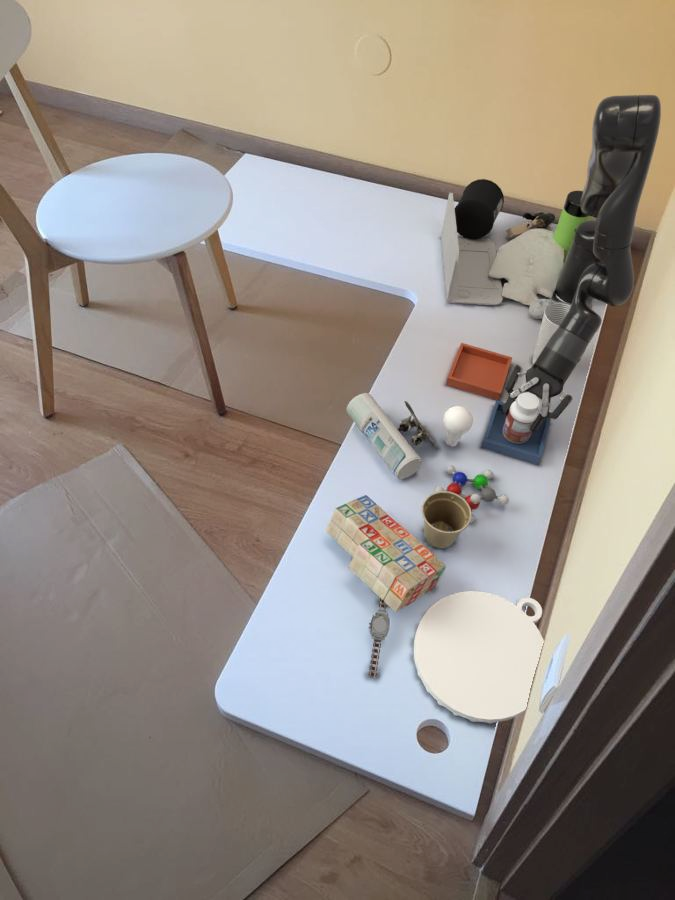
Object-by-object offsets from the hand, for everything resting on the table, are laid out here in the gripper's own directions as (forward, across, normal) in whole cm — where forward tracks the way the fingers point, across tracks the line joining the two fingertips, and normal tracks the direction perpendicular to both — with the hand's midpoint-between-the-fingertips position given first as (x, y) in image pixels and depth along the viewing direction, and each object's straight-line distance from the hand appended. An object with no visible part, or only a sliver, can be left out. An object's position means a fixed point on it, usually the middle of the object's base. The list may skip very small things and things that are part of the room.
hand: (518, 422), depth 158 cm
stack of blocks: (+29, -2, -25) cm, 39 cm away
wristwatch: (+44, +7, -36) cm, 57 cm away
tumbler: (-43, -25, +51) cm, 72 cm away
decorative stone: (-24, -13, +33) cm, 43 cm away
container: (-37, -47, +36) cm, 70 cm away
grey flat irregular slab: (-24, -23, +30) cm, 45 cm away
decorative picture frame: (+10, -11, -13) cm, 20 cm away
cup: (-14, -7, +22) cm, 27 cm away
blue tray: (+3, 0, +5) cm, 6 cm away
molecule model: (+14, -4, -6) cm, 16 cm away
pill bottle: (+3, 0, +5) cm, 6 cm away
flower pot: (+26, +2, -18) cm, 32 cm away
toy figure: (-42, -39, +44) cm, 72 cm away
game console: (-26, -39, +34) cm, 58 cm away
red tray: (-4, -16, +12) cm, 21 cm away
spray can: (+19, -10, -15) cm, 26 cm away
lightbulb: (+11, -9, -3) cm, 15 cm away
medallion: (+34, +23, -30) cm, 51 cm away
